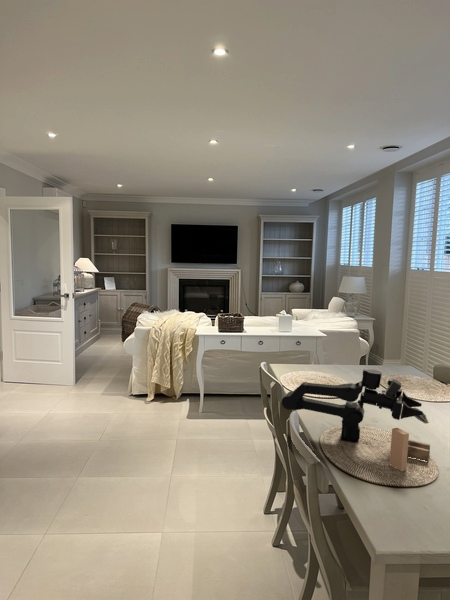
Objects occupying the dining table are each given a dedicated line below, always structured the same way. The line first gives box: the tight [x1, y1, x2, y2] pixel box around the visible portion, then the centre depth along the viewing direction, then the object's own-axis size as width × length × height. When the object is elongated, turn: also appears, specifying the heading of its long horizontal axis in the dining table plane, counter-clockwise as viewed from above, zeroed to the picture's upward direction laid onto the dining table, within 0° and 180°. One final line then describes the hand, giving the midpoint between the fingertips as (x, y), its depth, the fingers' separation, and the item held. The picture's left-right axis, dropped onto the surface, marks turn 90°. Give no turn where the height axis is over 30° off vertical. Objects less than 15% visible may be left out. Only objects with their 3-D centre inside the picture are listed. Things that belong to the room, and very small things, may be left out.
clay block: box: [389, 427, 410, 472], centre depth 142 cm, size 5×2×13 cm, turn 25°
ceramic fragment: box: [413, 407, 429, 424], centre depth 189 cm, size 14×5×4 cm, turn 3°
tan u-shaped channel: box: [407, 439, 431, 462], centre depth 152 cm, size 11×8×4 cm
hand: (422, 409), depth 153 cm, fingers open, 9 cm apart
